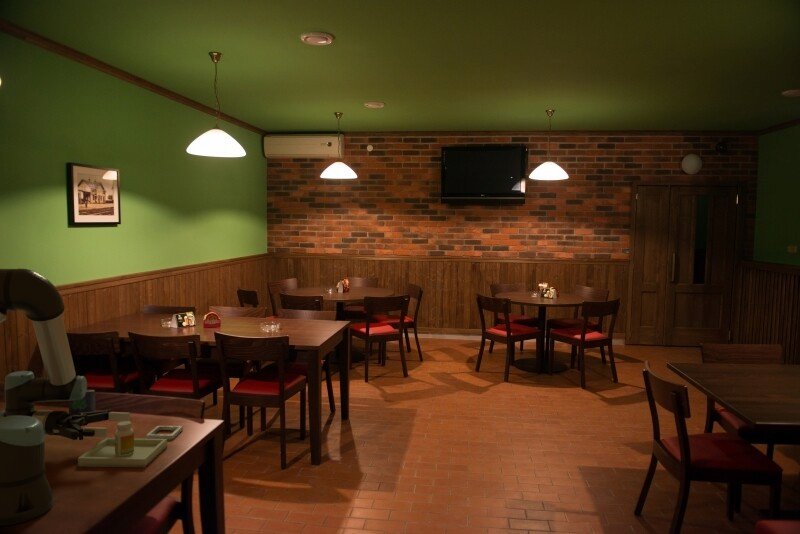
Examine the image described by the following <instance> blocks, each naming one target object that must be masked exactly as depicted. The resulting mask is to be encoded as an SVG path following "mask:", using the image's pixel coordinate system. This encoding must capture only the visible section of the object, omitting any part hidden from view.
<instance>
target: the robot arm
mask: <svg viewBox="0 0 800 534" xmlns="http://www.w3.org/2000/svg"><path fill="white" fill-rule="evenodd" d="M65 310H66V308H65V303H64V300H63V298H62V295H61V294H60V292H59V290H58V289H57V287H56V286H55V285H54V283H52V281H50V280H49V279H48V278H46V277H45V276H43V275H42V274H40V273H39V272H37V271H35V270H31V269H28V268H0V324H1V323H2V322H4V321H6V320H7V316H8V312H12V311H22V312H24V313H25V317H26V319H27V320H28V321H31V323H32V326H33V330H34V333H35V338H36V340H37V344H38V348H39V351H40V355H41V359H42V362H43V365H44V370H45V373H46V377H35V374H34V372H33V371H31V370H21V371H14V372H11V373H8V374H6V376H5V378H4V388H3V389H4V403H5V404H4V405H5V409H3V410H1V411H0V527H4V526H12V525H16V524H21V523H25V522H28V521H31V520H34V519H35V518H38V517H40V516H43V515H44V514H45V513H47V512H48V511H50V509H52V508H53V506H54V504H55V502H54V501H55V500H54V497H55V496H54V492H53V491H52V488H51V486H50V483H49V481H48V478H47V477H46V464H45V463H46V461H45V460H46V458H45V457H46V456H45V455H46V454H45V453H46V452H45V451H46V450H45V441H46V436H60V437H63V438H67V439H69V440H73V441H77V440H78V441H83V440H84V437H85V438H108V427H90V426H88V424H93V423H98V422H104V421H109V422H123V421H130V419H131V413H130V412H124V411H123V412H122V411H121V412H120V411H119V412H117V411H113V410H112V409H111V408H109V409H105V410H104V409H103V410H95V411H93V412H79V413H78V415H73V416H70V415H69V411H66V410H51V409H50V410H49V409H47V410H46V409H35V406H36V405H35V404H36V403H45V402H65V401H67V402H69V401H71V400H79V399H82V398H83V397H84V396H85V394H86V390H88V381H87V378H86V377H85V376H84V375H76V373H77V372H76V369H75V365H74V360H73V356H72V352H71V348H70V347H71V346H70V343H69V338H68V335H67V334H68V333H67V330H66V326H65V322H64V318H63V317H64V316H63V315H64V312H65ZM130 422H131V421H130ZM85 426H86V427H85ZM83 427H84V428H83Z"/></svg>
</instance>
